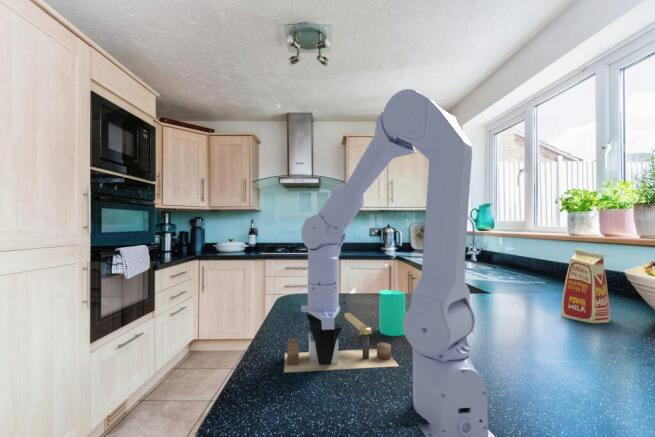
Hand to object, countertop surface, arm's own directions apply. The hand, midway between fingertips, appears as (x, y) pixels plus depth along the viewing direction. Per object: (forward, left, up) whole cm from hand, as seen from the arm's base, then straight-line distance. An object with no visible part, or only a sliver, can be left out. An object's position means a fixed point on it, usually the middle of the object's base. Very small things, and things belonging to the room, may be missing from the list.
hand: (323, 357), depth 56 cm
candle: (+14, -18, -2) cm, 23 cm away
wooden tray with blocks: (0, -3, -2) cm, 3 cm away
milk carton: (+22, -79, -2) cm, 82 cm away
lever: (+5, -7, +4) cm, 10 cm away
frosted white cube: (0, 0, 0) cm, 0 cm away
